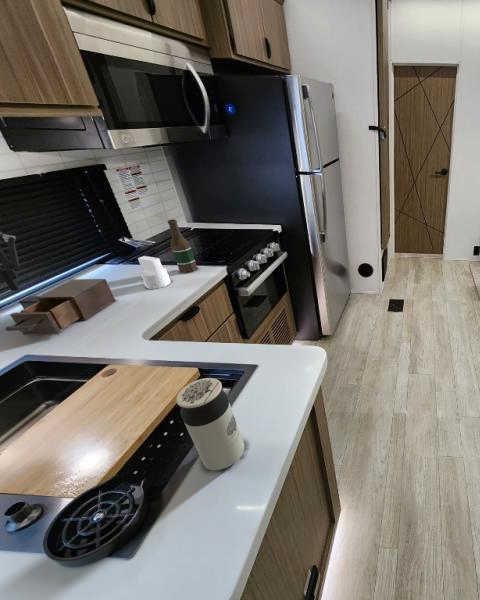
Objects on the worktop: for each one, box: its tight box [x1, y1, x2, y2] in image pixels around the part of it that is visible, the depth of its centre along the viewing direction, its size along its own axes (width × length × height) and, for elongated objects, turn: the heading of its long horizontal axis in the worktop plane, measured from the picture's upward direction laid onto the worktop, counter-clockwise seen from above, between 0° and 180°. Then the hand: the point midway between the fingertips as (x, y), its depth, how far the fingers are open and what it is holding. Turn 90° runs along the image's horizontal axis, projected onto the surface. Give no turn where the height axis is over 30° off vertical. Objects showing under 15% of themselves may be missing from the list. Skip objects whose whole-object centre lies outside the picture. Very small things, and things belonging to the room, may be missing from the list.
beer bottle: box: [167, 219, 198, 274], centre depth 151 cm, size 8×8×24 cm
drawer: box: [5, 299, 82, 336], centre depth 110 cm, size 18×11×8 cm, turn 1°
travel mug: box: [175, 377, 245, 471], centre depth 66 cm, size 8×8×18 cm
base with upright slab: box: [137, 255, 172, 290], centre depth 141 cm, size 9×9×12 cm
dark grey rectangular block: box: [18, 295, 39, 309], centre depth 123 cm, size 4×7×5 cm, turn 91°
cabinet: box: [36, 278, 117, 321], centre depth 122 cm, size 15×13×10 cm
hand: (15, 288), depth 108 cm, fingers closed
